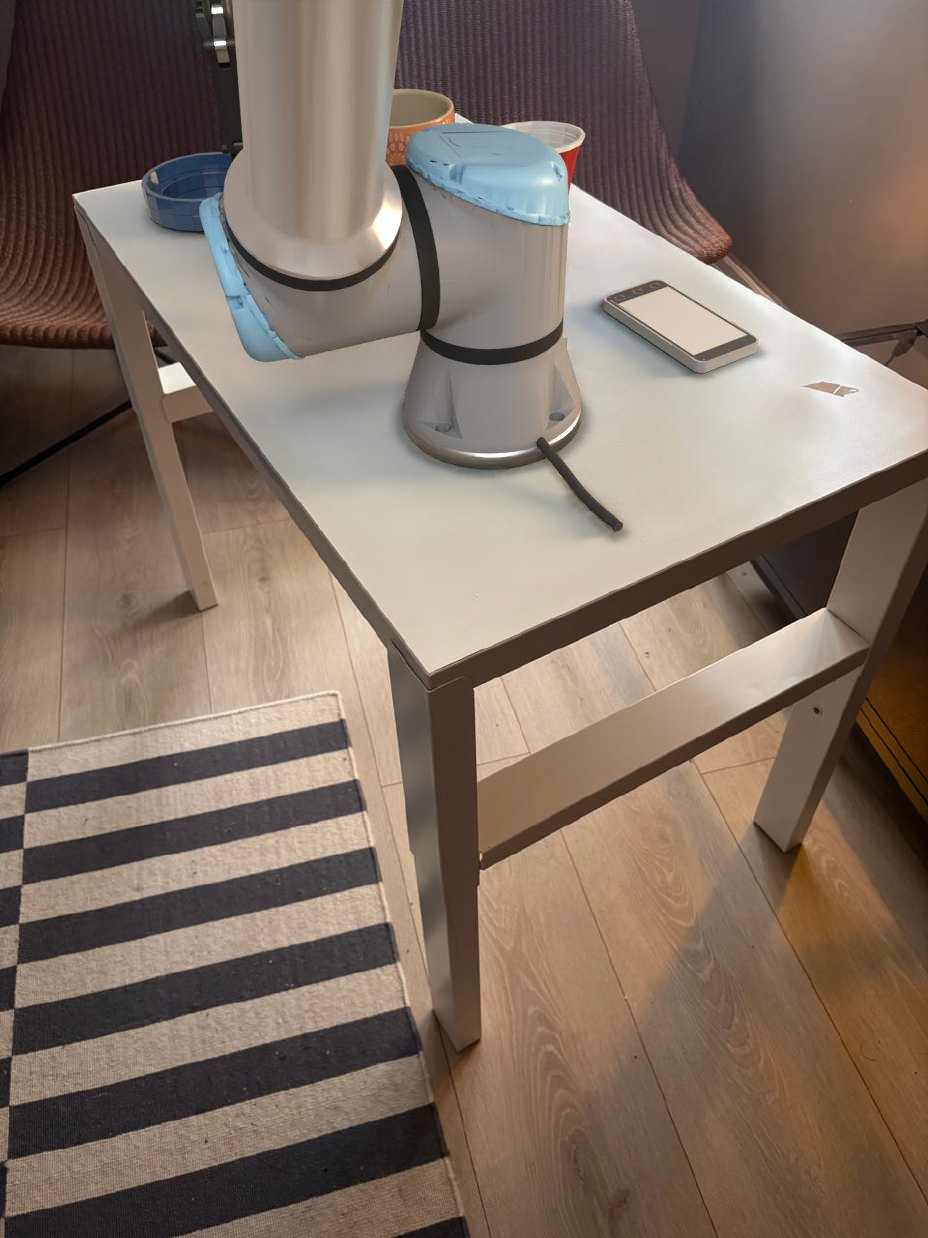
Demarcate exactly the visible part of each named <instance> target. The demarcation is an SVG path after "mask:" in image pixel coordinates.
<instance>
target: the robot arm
mask: <svg viewBox="0 0 928 1238" xmlns="http://www.w3.org/2000/svg"><path fill="white" fill-rule="evenodd" d="M196 5H197V8H196V7H195V9H194V12H195V19H196V24H197V29H198V32H199V33H200V34H201V36H202V40H203V42H202V45H203V46H202V47H203V50H205V56H206V60H207V65H208V66H209V67H208V68H210V72H211V77H212V82H213V87H214V91H215V96H216V101H217V105H218V110H219V115H220V119H221V123H222V129H223V134H224V137H225V144H221V149H220V150H221V152H222V154H231V158H232V163H231V165H230V168H229V170H228V172H227V175H226V178H225V182H224V192H221V193H217V194H215V195H214V196H213V197H211V198H208V199H205V200H204V201H202V203H201V204H200V207H199V214H200V219H201V223H202V226H203V229H204V230H203V232H204V236H205V239H206V241H207V242H206V243H207V245H208V248H209V252H210V255H211V258H212V261H213V264H214V267H215V271H216V274H217V277H218V280H219V284H220V286H221V288H222V291H223V293H224V297H225V300H226V303H227V304H228V309H229V312H230V315H231V318H232V322H233V324H234V327H235V330H236V332H237V335H238V339H239V341H240V344H241V345H242V348H243V350H244V351H245V353H246V354H247V355H248V356H249V357H250V358H251V359H253V360H254V361H257V362H260V363H271V362H278V361H285V360H286V361H287V360H290V359H292V360H294V361H296V360H297V361H300V360H303V359H305V358H306V357H310V356H315V355H319V354H323V353H327V352H332V351H333V352H334V351H336V350H341V349H346V348H351V347H355V346H360V345H363V344H368V343H372V342H376V341H381V340H385V339H390V338H395V337H399V336H403V335H407V334H412V333H417V332H419V342H418V345H417V349H416V352H415V356H414V360H413V363H412V367H411V370H410V373H409V378H408V380H407V385H406V388H405V391H404V399H403V417H404V425H405V430H406V432H407V434H408V436H409V438H410V439H411V440H412V442H413V443H414V444H415V445H416V446H417V447H418V448H419V449H421V450H422V451H423V452H425V453H426V454H428V455H430V456H432V457H434V458H436V459H438V460H440V461H443V462H446V463H448V464H452V465H455V466H456V465H457V466H461V467H466V468H473V469H486V470H491V469H492V470H493V469H495V470H496V469H507V468H515V467H521V466H525V465H530V464H532V463H536V462H539V461H541V460H544V459H547V460H548V461H549V462H550V463H551V465H552V466H553V467H554V469H555V470H556V471H557V473H558V474H559V475H560V476H561V477H562V479H563V481H565V483H566V484H567V485H568V487H569V488H570V490H571V491H572V492H573V493H574V494H575V495H576V496H577V498H578V499H579V500H580V501H581V502H582V503H583V504H584V505H585V506H586V507H587V508H588V509H589V510H590V511H591V512H593V513H594V514H595V515H596V516H597V517H598V518H599V519H601V520H602V522H604V523H605V524H606V525H607V526H608V527H609V528H611V529H612V530H613V531H614V532H619V531H621V530H622V528H623V527H624V523H623V522H621V520H620V519H619V518H617V517H616V516H615V515H614V514H613V513H611V511H609V510H608V509H607V508H605V506H603V504H601V503H600V502H599V501H598V500H597V499H596V498H594V496H593V495H591V493H590V492H589V491H588V490H587V489H586V488H585V487H584V486H583V485H582V483H581V482H580V481H579V479H578V478H577V477H576V476H575V474H574V473H573V472H572V470H571V469H570V468H569V466H568V465H567V464H566V463H565V461H564V460H563V459H562V458H561V456H560V455H559V454H558V453H557V452H559V451H560V450H562V449H563V448H565V447H566V446H567V445H568V444H570V442H571V441H572V440H573V438H575V436H576V434H577V432H578V430H579V428H580V426H581V425H580V424H581V418H582V404H583V403H582V396H581V389H580V386H579V382H578V380H577V377H576V374H575V369H574V367H573V363H572V361H571V357H570V353H569V351H568V337H564V314H565V299H566V277H567V275H566V274H567V255H568V238H569V237H568V236H569V223H570V221H571V218H572V217H571V210H570V203H569V196H568V173H567V168H566V165H565V163H564V161H563V159H562V157H561V156H560V154H559V153H558V152H557V151H556V150H555V149H554V148H553V147H551V146H550V145H549V144H547V143H546V142H544V141H542V140H540V139H538V138H536V137H534V136H532V135H529V134H526V133H523V132H520V131H517V130H513V129H509V128H505V127H500V126H501V125H492V124H486V123H472V122H455V123H450V124H440V125H434V126H430V127H427V128H424V129H423V131H418V132H416V133H414V134H413V135H412V136H411V137H410V139H409V141H408V144H407V148H406V150H405V160H406V163H403V164H399V165H394V166H388V164H387V163H386V162H385V157H386V149H387V140H388V131H389V123H390V114H391V106H392V97H393V89H395V87H394V86H395V78H396V70H397V63H398V53H399V45H400V44H399V43H400V35H401V27H402V19H403V18H402V17H403V10H404V8H403V7H404V0H196Z"/></svg>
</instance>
